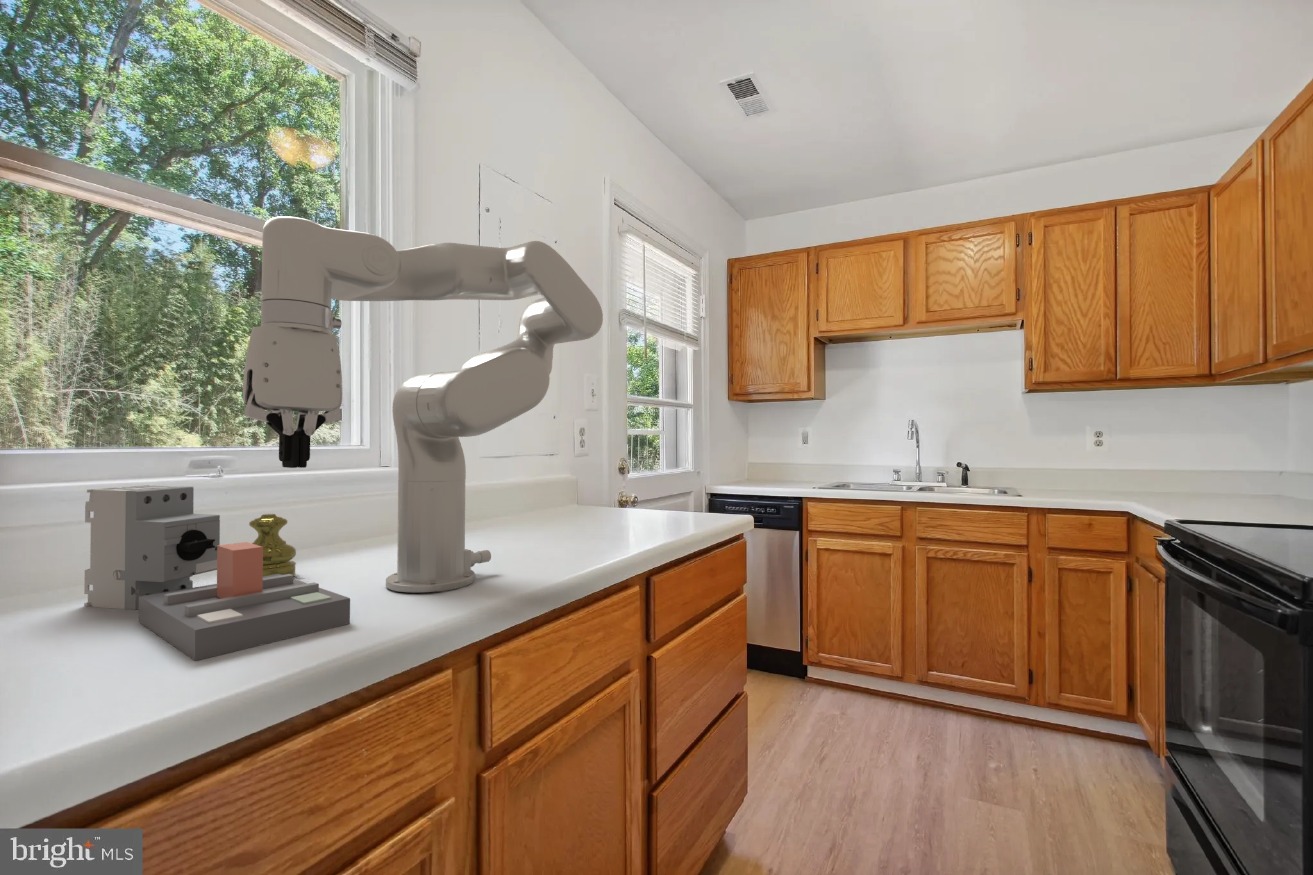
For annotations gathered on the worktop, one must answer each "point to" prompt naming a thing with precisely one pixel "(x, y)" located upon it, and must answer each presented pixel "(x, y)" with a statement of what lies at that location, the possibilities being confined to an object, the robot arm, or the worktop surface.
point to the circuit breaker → (146, 543)
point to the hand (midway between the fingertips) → (294, 467)
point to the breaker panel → (241, 615)
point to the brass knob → (273, 545)
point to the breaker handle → (239, 569)
